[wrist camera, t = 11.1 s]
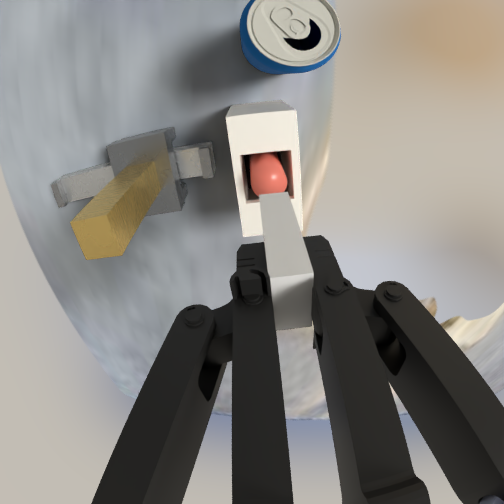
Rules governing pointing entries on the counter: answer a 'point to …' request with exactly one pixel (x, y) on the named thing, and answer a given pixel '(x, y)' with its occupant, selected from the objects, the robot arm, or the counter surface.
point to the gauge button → (267, 173)
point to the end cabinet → (259, 141)
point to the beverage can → (289, 34)
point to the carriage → (131, 193)
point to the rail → (97, 177)
